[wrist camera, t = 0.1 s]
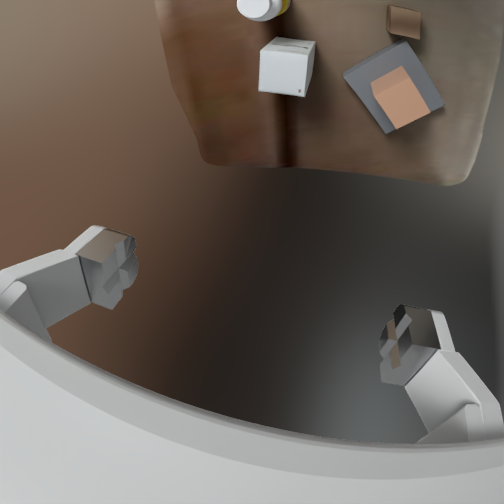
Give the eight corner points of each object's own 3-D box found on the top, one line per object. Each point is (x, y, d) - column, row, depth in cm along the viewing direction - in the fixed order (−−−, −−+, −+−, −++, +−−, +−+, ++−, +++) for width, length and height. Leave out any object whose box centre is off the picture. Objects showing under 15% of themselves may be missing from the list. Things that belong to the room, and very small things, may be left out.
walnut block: (386, 4, 32) (391, 6, 29) (414, 10, 31) (421, 13, 28) (386, 28, 36) (390, 33, 33) (413, 34, 35) (419, 39, 32)
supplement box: (316, 40, 42) (310, 55, 35) (312, 75, 48) (305, 99, 41) (275, 35, 43) (259, 49, 36) (273, 70, 49) (257, 92, 42)
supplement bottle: (284, -20, 34) (268, -22, 26) (295, 11, 38) (283, 18, 31) (248, -11, 36) (223, -8, 29) (260, 19, 41) (239, 29, 34)
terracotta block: (401, 65, 38) (409, 77, 34) (421, 96, 41) (430, 112, 37) (370, 82, 43) (373, 96, 39) (391, 112, 46) (396, 129, 42)
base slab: (403, 38, 36) (406, 40, 34) (440, 98, 42) (445, 104, 41) (343, 72, 46) (343, 77, 44) (384, 127, 52) (385, 134, 50)
